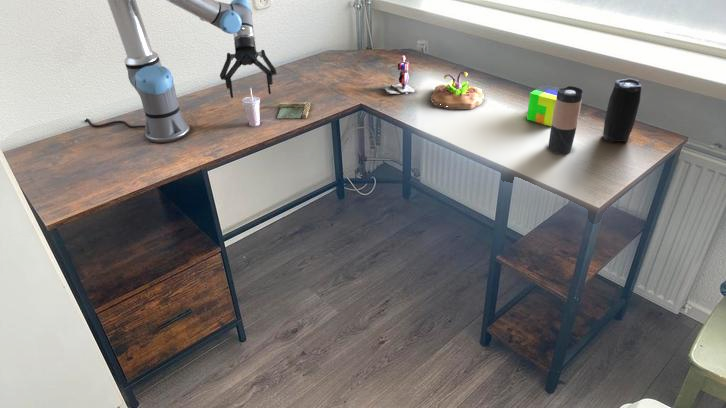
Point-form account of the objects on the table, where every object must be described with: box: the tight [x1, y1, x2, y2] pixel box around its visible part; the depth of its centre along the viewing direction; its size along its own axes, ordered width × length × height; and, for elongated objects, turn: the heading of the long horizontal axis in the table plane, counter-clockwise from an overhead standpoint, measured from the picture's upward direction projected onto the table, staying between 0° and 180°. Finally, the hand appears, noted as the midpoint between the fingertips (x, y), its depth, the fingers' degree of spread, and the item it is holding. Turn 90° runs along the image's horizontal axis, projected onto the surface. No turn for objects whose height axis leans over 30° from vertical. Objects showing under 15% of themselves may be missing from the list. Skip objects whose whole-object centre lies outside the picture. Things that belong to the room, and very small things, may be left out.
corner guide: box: [276, 101, 311, 120], centre depth 209 cm, size 12×12×2 cm
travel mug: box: [548, 85, 584, 155], centre depth 174 cm, size 8×8×20 cm
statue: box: [381, 55, 416, 95], centre depth 220 cm, size 11×9×15 cm
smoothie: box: [241, 87, 261, 127], centre depth 198 cm, size 6×6×14 cm
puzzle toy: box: [526, 84, 560, 127], centre depth 195 cm, size 10×10×10 cm
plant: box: [430, 71, 485, 110], centre depth 212 cm, size 20×20×11 cm
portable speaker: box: [602, 77, 643, 144], centre depth 178 cm, size 9×9×20 cm
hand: (250, 94), depth 200 cm, fingers open, 13 cm apart
